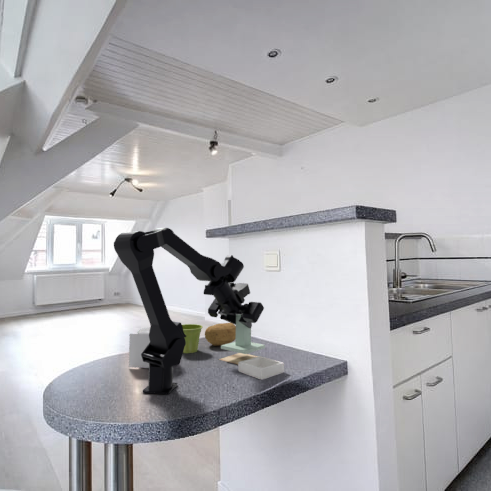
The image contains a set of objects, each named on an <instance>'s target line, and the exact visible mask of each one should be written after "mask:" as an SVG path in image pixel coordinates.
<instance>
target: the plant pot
mask: <svg viewBox="0 0 491 491" xmlns="http://www.w3.org/2000/svg"><path fill="white" fill-rule="evenodd" d="M182 326H183V331H184V334H185V335H186V337H184V338H185V341H186V345H185V347H184V351H183V354H194V353H197V352H198V349H199V345H200V344H199V343H200V338H201V332H202V329H203V325H201V324H197V323H195V324H194V323H187V324H186V323H185V324H182Z"/></svg>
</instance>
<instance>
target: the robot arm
mask: <svg viewBox="0 0 491 491" xmlns="http://www.w3.org/2000/svg"><path fill="white" fill-rule="evenodd" d="M160 247H161V248H162V249H164V250H165V251H166V252H168V253H169V254H171V255H172V256H173V257H175V259H177V260H179V261H180V262H181V263H183V264H184V265H185V266H187V267H188V269H189V271H190V273H191V274H192V275H193V277H194V278H195V279H197V280H198V281H202V282H209V283H207V284H205V285H204V289H203V295H207V296H213V297H214V299H213V301H212V302H211V303H210V305H209V307H208V309H207V314H208V315H209V316H210V317H212V318H217V317H218V316H219V315H220V317H219V318H220V319H221V320H223V321H226V322H227V323H233V324H234V325H235V326H236V314H237V315H241V318H240V319H239V322H240V323H242V324H243V325H245V326H246V327H248V328H251V329H252V327H253V324H255V323H257V322H258V320H259V319H260V317H261V315H262V313H263V311H264V309H265V307H264V305H263V304H262V302H260V301H258V302H257V301H249V302H248V303H244V302H245V301H246V299H245V298H246V297H247V296H248V295H250V294H251V291H250V286H249V283H244V282H243V283H242V282H238V283H237V282H236V280H237V279H238V277H239V276H240V274H241V272H242V271H243V269H244V268H245V265H244V263H243V262H242V261H241V260H239V259H238V258H236V257H234V255H232V254H227V255H226V256H225V258H224V260H223V262H222V263H221V262H219V260H216V259H213V258H212V257H209V256H206V255H203V254H201V253H200V252H198V251H197V250H196V249H195V248H193V247H192V246H191V245H189V244H188V243H187V242H186V241H184V240H183V239H182V238H181V237H180V236H178V235H177V234H176V233H175V232H174V231H173V229H171V228H169V227H158V228H155V229H153V230H149V231H141V230H139V231H138V230H137V231H126V232H122V233H119V234H118V235H117V237H115V240H114V242H113V248H114V251H115V253H116V254H117V256H118V258H119V260H120V262H121V263H122V264H123V265H124V266H125V267H126V268H127V269H128V270H129V271H130V273H131V274H132V278H133V280H134V284H135V286H136V289H137V291H138V294H139V297H140V300H141V303H142V305H143V307H144V310H145V314H146V316H147V319H148V322H149V324H150V327H149V328H150V332H149V339H150V343H149V344H148V346H147V347H146V348H145V350H144V351H143V352H142V354H141V357H142V360H143V362H147V363H149V368H148V385H147V386H145V388H144V389H142V393H144V394H146V393H147V394H156V395H157V394H158V395H170V394H171V393H172V392H173V391H174V389H175V388H176V387H178V382H173V379H174V367H175V366H179V365H181V360H182V357H183V354H184V353H183V351H184V347H185V345H186V341H185V338H184V337H186V335H185V334H184V331H183V326H182V325H183V324H182V322H179V321H174V320H172V318H171V317H170V314H169V311H168V308H167V305H166V302H165V298H164V297H163V294H162V291H161V288H160V285H159V282H158V279H157V277H156V273H155V270H154V267H153V263H154V258H155V249H158V248H160ZM234 282H236V283H234ZM161 354H162V355H164V357H162V356H160V355H161Z"/></svg>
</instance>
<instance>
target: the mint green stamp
mask: <svg viewBox="0 0 491 491" xmlns="http://www.w3.org/2000/svg"><path fill="white" fill-rule="evenodd" d="M240 318H241V315H237V314H236V325H235V326H236V339H235V341H233V342H231V343H228V344H225V345H221V346H220V349H221V350H226V351H229V352H234V353H242V354H252V353H254V352H256V351H257V352H258V351H260V350H263V349H266V344H262V343H257V342H252V327H251V328H248V327H246V326H245V325H243V324H242V323H240V322H239V319H240Z"/></svg>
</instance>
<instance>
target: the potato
mask: <svg viewBox="0 0 491 491" xmlns="http://www.w3.org/2000/svg"><path fill="white" fill-rule="evenodd" d="M204 337H205V339H206V341H207V342H208V343H209V344H210V345H212V346H214V347H221V345H225V344H228V343H232V342H235V341H236V325H235V324H233V323H230V322H223V323H216V324H214V325H209V326H208V327H207V328H206V329H205V331H204Z"/></svg>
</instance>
